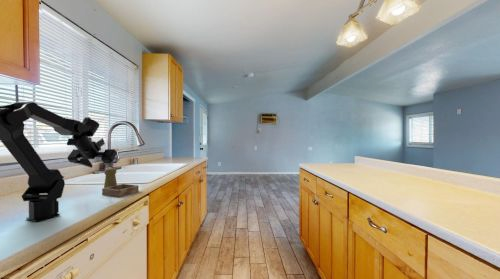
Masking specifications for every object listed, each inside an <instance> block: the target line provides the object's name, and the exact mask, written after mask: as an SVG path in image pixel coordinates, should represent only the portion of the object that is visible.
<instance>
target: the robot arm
mask: <svg viewBox="0 0 500 279" xmlns="http://www.w3.org/2000/svg"><path fill="white" fill-rule="evenodd" d="M29 119H32V120H34V121H37V122H39V123H42V124H44V125H46V126H49V127H52V128H53V130H54V132H56V133H58V134H59V135H61V136H70V138H67V142H66V145H67V146H74V147H75V148H74V149H72V151H70V154H69V155H68V156H67V161H68V162H69V163H70V164H71V163H72V164H77V165H79V166H84V167H88V168H93V164H92V163H91V161H90V160H95V158H100V160H101V161H102V163H103V164H104V165H105V166H107V167H108V168H113V162H114V160H115V158H116V156H117V154H118V151H117V150H116V149H115V148H112V149H111V148H108V149H107V148H106V149H105V150H104V151H101V150H102V148H101V147H103V146H105V144H106V143H105V140H104V138H103V137H93V136H95V133H96V132H97V130H98V129H99V128H100V123H99V122H98V121H97V120H94V119H92V118H91V117H90V116H89V117H84V119H82V121H81V120H76V119H72V118H68V117H67V118H66V117H63V116H61V115H59V114H57V113H55V112H52V111H50V110H48V109H47V108H45V107H43V106H40V105H38V103H37V102H34V101H31V100H29V101H28V100H27V101H24V100H23V101H22V100H21V101H15V102H12V103H8V104H4V105H1V106H0V142H1V143H2V145H3V146H5V148H6V149H7V150H8V152H9V153H10V154H11V156H12V157H13V158H14V159H15V160H16V162H17V163H18V164H19V165H20V167H21V168H22V170H23V171H24V172H25V173H26V174H27V175H28V179H27V184H28V187H27V189H26V190H25V191H24V192H23V194H22V195H21V199H22V201H23V202H28V217H26V218H25V219H26V220H28V221H31V222H35V223H38V222H42V221H45V220H49V219H51V218H52V219H53V218H56V217H59V216H61V214H60V213H59V212H60V211H59V210H60V209H59V208H60V207H59V205H60V204H59V200H58V199H60V198H62V197H63V193H64V189H65V186H66V185H65V184H66V183H65V179H64V178H65V176H63V175H62V173H61V171H60V170H59V169H58V168H48V167H47V165H46V163H45V162H44V161H43V159H42V158H41V156H40V155H39V154H38V152H37V151H36V149H35V148H34V146H33V145H32V144H31V142H30V141H29V140H28V138H27V137H26V136H25V134H24V132H25V131H24V130H25V123H24V122H26V121H27V120H29Z"/></svg>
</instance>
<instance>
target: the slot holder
mask: <svg viewBox="0 0 500 279" xmlns="http://www.w3.org/2000/svg"><path fill="white" fill-rule="evenodd" d="M101 190H102V192H101V193H102V194H101V195H102V196H106V197H107V196H108V197H113V198H114V197H115V198H121V196H122V197H125V196H128V194H129V195H132V194H135V193H138V192H139V185H137V184H128V183H127V184H126V183H121V184H117V185H115V186H111V187H107V188H104V187H103V188H102V189H101ZM124 195H125V196H124Z"/></svg>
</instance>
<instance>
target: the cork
mask: <svg viewBox="0 0 500 279" xmlns="http://www.w3.org/2000/svg"><path fill="white" fill-rule="evenodd" d="M103 172H104V175H105V176H104V177H105V178H104V184H103V188H107V187H111V186H115V185H118V184H117V177H116V175H117V169H116V168H115V167H112V168H111V167H108V168H105V169H104V171H103Z"/></svg>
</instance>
